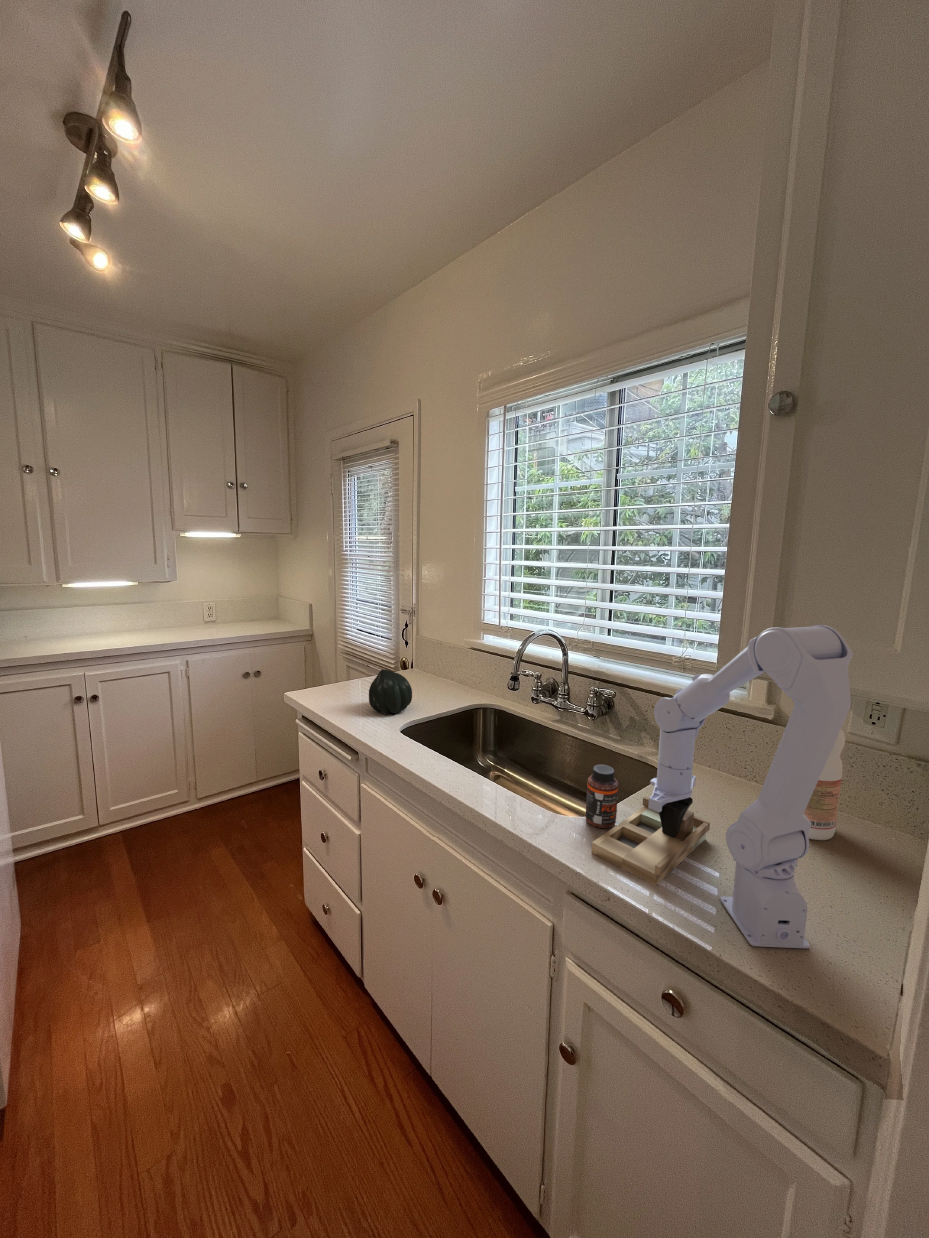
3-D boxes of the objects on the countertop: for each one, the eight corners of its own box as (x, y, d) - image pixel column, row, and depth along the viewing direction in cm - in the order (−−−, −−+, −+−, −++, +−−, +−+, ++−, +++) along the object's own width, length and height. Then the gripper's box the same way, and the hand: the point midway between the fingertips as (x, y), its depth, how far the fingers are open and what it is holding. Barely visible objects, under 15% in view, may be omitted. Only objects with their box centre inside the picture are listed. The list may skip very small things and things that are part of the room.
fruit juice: (768, 823, 99) (782, 688, 96) (790, 811, 105) (804, 682, 101) (821, 847, 92) (839, 700, 88) (843, 832, 97) (860, 693, 93)
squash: (427, 694, 167) (403, 658, 171) (399, 707, 155) (373, 668, 158) (403, 715, 174) (381, 680, 178) (374, 729, 162) (351, 691, 165)
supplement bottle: (603, 833, 95) (606, 779, 93) (579, 819, 100) (581, 767, 98) (622, 822, 99) (625, 770, 97) (598, 809, 103) (600, 758, 101)
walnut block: (683, 841, 90) (685, 820, 89) (661, 831, 92) (663, 811, 92) (692, 832, 92) (694, 812, 92) (671, 824, 95) (672, 804, 95)
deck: (658, 887, 80) (659, 866, 79) (589, 851, 89) (590, 832, 89) (708, 839, 94) (710, 821, 93) (643, 812, 103) (644, 796, 103)
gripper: (671, 746, 96) (666, 812, 98) (633, 767, 86) (629, 840, 88) (709, 757, 91) (703, 826, 92) (674, 781, 81) (668, 858, 83)
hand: (669, 834), depth 90 cm, fingers closed
